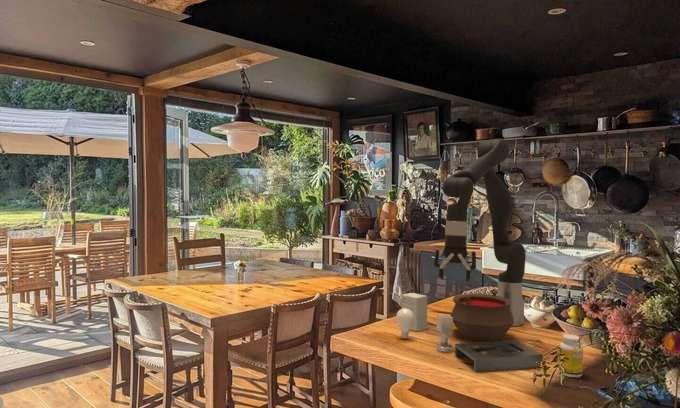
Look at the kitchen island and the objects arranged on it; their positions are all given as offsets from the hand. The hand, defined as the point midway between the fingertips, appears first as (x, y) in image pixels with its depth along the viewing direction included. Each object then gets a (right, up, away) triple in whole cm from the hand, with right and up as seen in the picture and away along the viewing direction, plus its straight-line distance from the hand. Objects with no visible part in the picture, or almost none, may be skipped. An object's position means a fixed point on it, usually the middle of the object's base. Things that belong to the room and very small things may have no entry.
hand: (454, 280), depth 164 cm
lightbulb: (-17, -22, +4) cm, 28 cm away
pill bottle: (+27, -23, -27) cm, 45 cm away
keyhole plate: (+9, -23, -18) cm, 30 cm away
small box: (-11, -22, +18) cm, 30 cm away
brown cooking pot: (+12, -22, +8) cm, 27 cm away
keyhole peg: (-5, -22, -7) cm, 24 cm away
